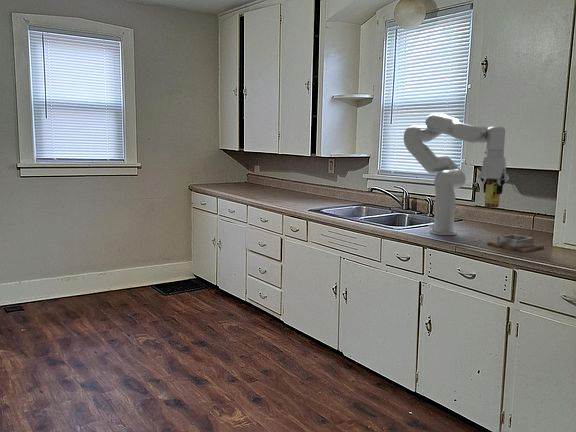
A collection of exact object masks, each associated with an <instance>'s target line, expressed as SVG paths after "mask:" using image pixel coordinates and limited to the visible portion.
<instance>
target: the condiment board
mask: <svg viewBox="0 0 576 432" xmlns="http://www.w3.org/2000/svg"><path fill="white" fill-rule="evenodd" d="M486 245H487V246H490V245H491V246H492V247H495V246H496V247H495V248H500V247H501V249H504V250H505V249H506V250H510V251H514V250H516V251H515V252H519V251H520V252H521V253H528V252H531V251H537V250H542V249H545V246H544V245H542V244H537V243H535V237H531V236H525V235H519V234H514V233H512V234H506V235H500V236H497V240H493V241H488V242H487V243H486Z"/></svg>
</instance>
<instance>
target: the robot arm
mask: <svg viewBox="0 0 576 432" xmlns="http://www.w3.org/2000/svg"><path fill="white" fill-rule="evenodd" d="M442 134H444V135H446V136H451V137H452V138H455V139H457V140H460V141H464V142H468V143H473V144H477V143H478V144H479V143H480V144H481V143H483V144H484V143H486V150H485V151H484V155H485V156H484V157H483V160H482V165H481V172H480V173H479V174H478V176H477V177H478V178H479V179H480V181H481V182H482V184H483V194H485V192H486V183H487V179H489V178H490V179H497V182H498V185H497V194H500V195H502V194H503V188H504V185H505V184H506V183H507V182H508V181H509V179H510V178H511V177H510V176H509V174H508V173H507V171H506V170H507V168H506V167H507V166H506V165H507V163H506V157H504V156H505V154H504V153H505V141H506V138H505V137H506V128H505V127H504V126H490V127H489V126H483V125H480V126H479V125H470V124H467V123H462V122H461V121H460V120H459V119H458V118H455V117H451V116H449V115H448V114H446V113H431V114H429V115H428V116H427V117H426V119H425V122H424V125H422V124H421V125H419V124H418V125H417V124H414V125H411V126H410V125H409V126H408V127H407V128H406V129H405V130H404V134H403V143H404V147H405V148H406V150H408V152H409V153H410V154H411V155H412V156H413V158H415V160H416V161H417V162H418V163H419V164H420V165H421V167H422V168H423V169H424V170H425V171H426V172H427V173H428V174H430V175H435V177H434V188H435V189H434V190H435V191H434V192H435V197H434V198H435V199H434V200H435V202H434V203H435V204H434V221H433V222H430V223H429V224H428V227H429V228H432V229H431V230H430V234H433V235H435V236H436V235H438V236H456V235H457V234H458V232H457V230H454V229H455V225H454V224H455V215H456V214H455V212H456V209H455V208H456V192H455V190H454V189H459V188H460V189H461V188H462V187H463V186H464V185H465V183H466V181H467V178H466V175H465V173H464V171H463V170H462V169H461V168H460V167H459V166H458V165H457V164H456V162H454V160H452V159H451V158H450V157H449V156H447V155H446V154H436V153H435V152H434V151H432V149H431V148H430V147H429V146H428V145H426V144H425V143H428V142H431V141H433V140H434V139H435V138H438V137H439V136H441V135H442Z"/></svg>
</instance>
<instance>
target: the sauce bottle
mask: <svg viewBox="0 0 576 432" xmlns="http://www.w3.org/2000/svg"><path fill="white" fill-rule="evenodd" d="M497 185H498V182H497V179H490V178H489V179H487V183H486V192H485V193H484V194H485V195H484V207H485V208H494V209H495V208H498V207H499V205H500V199H501V198H500V196H501V194H497Z"/></svg>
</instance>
